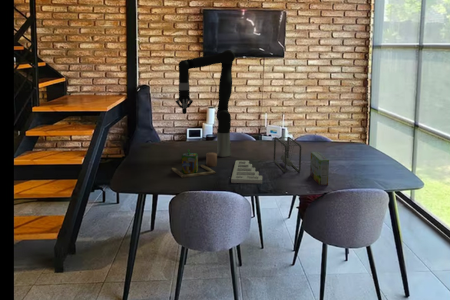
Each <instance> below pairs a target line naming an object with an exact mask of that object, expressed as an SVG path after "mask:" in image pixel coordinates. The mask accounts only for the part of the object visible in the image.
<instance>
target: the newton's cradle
mask: <svg viewBox="0 0 450 300" xmlns="http://www.w3.org/2000/svg"><path fill="white" fill-rule="evenodd" d="M284 139H286V140H284ZM276 141H277V142H279V143H280V144H281V146H283V147H282V150H281V152H282V153H283V154H282V155H281V156H280V160H276V147H277V142H276ZM297 146H298V147H299V155H298V157H299V159H298V167H297V166H296V165H295V164H293V163H294V162H293V161H291V160H292V158H291V157H292V155H293V154H290V153H293V150H290V149H293V148H294V147H297ZM290 147H291V148H290ZM273 162H274V164H275V165H276V166H277V167H278V168H279V169H281V171H282V172H283V173H287V172H289V173H290V172H292V170H287V167H293V168H294V169H295V171H296V172H298V173H300V172H301V167H302V166H301V164H302V145H301V144H300V143H299V142H297V141H296V140H295V139H294V138H292V137H290V136H287V137H276V136H275V137H274V138H273ZM281 162H282V163H283V162H284V165H283V166H284V168H283V167H282V166H281V165H280V164H279V163H281Z"/></svg>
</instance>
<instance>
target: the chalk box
mask: <svg viewBox="0 0 450 300" xmlns="http://www.w3.org/2000/svg"><path fill="white" fill-rule="evenodd" d="M190 151H191V150H190V148H187V152H183V154H181V173H183V174H184V175H186V174H194V173H198V171H199V164H198V163H199V161H198V160H199V156H198V155H199V154H198V153H195V152H194V153H193V152H190Z"/></svg>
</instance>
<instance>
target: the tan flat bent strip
mask: <svg viewBox="0 0 450 300" xmlns="http://www.w3.org/2000/svg"><path fill="white" fill-rule="evenodd" d="M200 167H201V168H202V169H204V170H205V171H204V172H197V173H194V174H183V173H182V171H180V170H179V169H178V168H176V167H171V170H172V172H174V173H175V174H176V175H178V176H179V177H181V178H182V179H184V178H192V177H193V178H194V177H201V176H208V175H215V174H217V172H216V171H215V170H213V169H211V168H210V167H209V166H207V165H205V164H200Z"/></svg>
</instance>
